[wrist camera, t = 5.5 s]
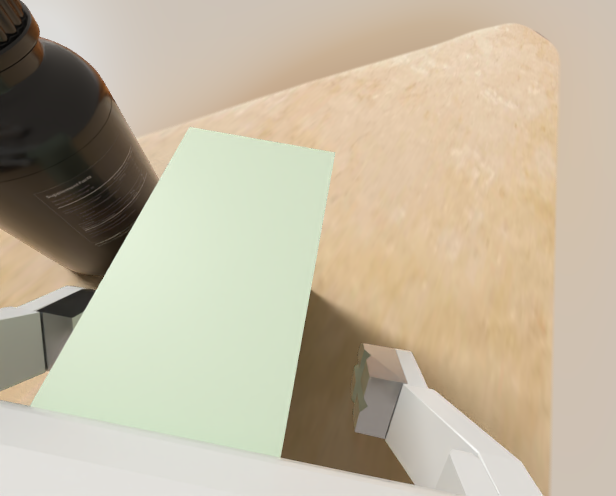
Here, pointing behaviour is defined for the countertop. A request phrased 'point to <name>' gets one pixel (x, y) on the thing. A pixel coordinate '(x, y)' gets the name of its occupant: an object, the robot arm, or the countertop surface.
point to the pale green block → (204, 298)
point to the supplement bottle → (64, 151)
